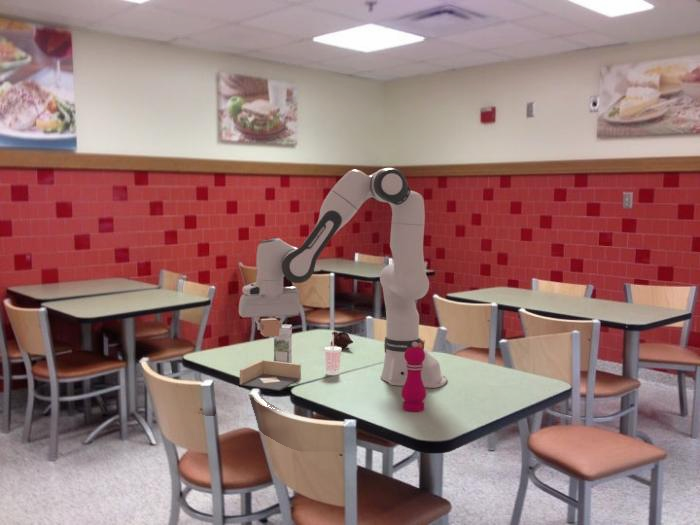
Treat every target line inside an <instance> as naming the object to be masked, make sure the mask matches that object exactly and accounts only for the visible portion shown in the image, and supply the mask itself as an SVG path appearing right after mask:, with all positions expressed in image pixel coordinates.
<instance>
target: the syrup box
mask: <svg viewBox="0 0 700 525" xmlns="http://www.w3.org/2000/svg"><path fill="white" fill-rule="evenodd" d="M292 329H293V326H292V324H283V323H282V329H279V336H273V361H277V362H285V363H293V361H292V360H293V359H292V358H293V357H292V354H293V353H292V346H293V345H292V344H293V342H292V341H293V340H292V336H293V330H292Z"/></svg>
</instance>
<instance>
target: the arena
mask: <svg viewBox="0 0 700 525" xmlns="http://www.w3.org/2000/svg"><path fill="white" fill-rule="evenodd" d="M301 379H302V364H300V363H293V362H291V363H285V362H277V361H274V360H267V359H260V360H259V361H256V362H254V363H252V364H249V365H247V366H245V367H243V368H241V369H239V385H240V386H243V387H250V388H257V389H262V390H264V389H265V390H271V391H277V392H280V391H282V390H284V389H285V388H287V387H289V386H291V385H292V383H293V384H294V383H296V382H297V381H298V382H299V381H300V380H301ZM295 381H296V382H295ZM290 384H291V385H290ZM288 385H289V386H288Z"/></svg>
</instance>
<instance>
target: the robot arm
mask: <svg viewBox="0 0 700 525" xmlns="http://www.w3.org/2000/svg"><path fill="white" fill-rule="evenodd" d="M369 199H372V200H374V201H376V202H381V203H388V204H389V205H390V207H391V213H392V216H391V224H390V225H391V226H390V227H391V228H390V240H389V249H390V250H391V255H392V261H393V263H391V264H389V265H386V266H385V267H384V268H383V269H381V272H380V275H379V281H380V285H381V288H382V292H383V300H384V306H385V312H386V313H385V314H386V322H385V323H386V325H385V326H386V327H385V329H386V333H385V334H386V335H385V337H384V344H383V345H384V346H383V349H384V354H385V355H384V362H383V367H382V371H381V375H380V380H383V381H385V382H387V383H388V384H389V385H391V386H400V387H401V386H402V387H403V386H404V384H405V382H406V379H407V373H408V371H407V368H406V363H407V361H406V360H405V358H404V354H405V351H406V350H407V349H408V348H409V347H413V346H412V343H413V342H417V343H418V346H417V347H419V348H421V349H423V351H424V353H425V359H424V361H423V362H422V363H423V369H422V370H421V379H422V382H423V385H424V387H425V388H429V389H437V388H441V387H443V386H444V385H445V384H447V383H448V377H447V376H446V375H445V374H442V370H441V366H440V363H439V361H438V360H437V359H436V358H435V357H434V356H432V355H431V354H430V353H429V352H428V351H427V350H425V344H426V340H425V339H424V340H422V339H421V338H420V337H419V336H420V334H419V333H420V332H419V330H420V314H419V311H418V309H417V305H416V300H420V299H422V298H424V297H425V296H426V295H427V294H428V292H429V290H430V289H429V288H430V281H429V277H428V276H427V273H426V266H425V264H426V263H425V257H424V235H425V234H424V233H425V224H426V223H425V220H426V213H425V212H426V211H425V200H424V197H423V196H422V194H420V193H419V192H417V191H414V190H411V188H410V185H409V184H408V181H407V178H406V177H405V175H404V173H402V172H401V171H400V170H398V169H397V168H393V167H386V168H381V169H379V170H377V171H376V172H373V173H371V174H369V175H368V174H366V173H365V172H363V171H362V170H359V169H351V170H349V171H348V172H347V173H345V174H344V175H343V176H342V177H341V178H340V179H339V180H338V181H337V182H336V183H335V185H334V186H333V187H332V188H331V189H330V191H329V192H328V194H327V195H326V197H325V198H324V200H323V203H322V204H321V207H320V210H319V215H318V220H317V222H316V224H315V227H313V229H312V230H311V232H310V233H309V235H308V236H307V237H306V239H305V240H304V242H303V243H302V245H301V246H300V247H296V246H292V245H290V244H288V243H287V242H285V241H283V240H282V239H281V238H279V237H278V238H269V239H268V238H267V239H265V240H264V239H263V240H262V241H261V242H259V244H258V246H257V248H256V249H257V250H256V265H255V266H256V269H257V274H256V278H255V280H256V281H255V282H253V283H249V284H246V285H243V286H242V288H241V290H242V293H243V294H241V296H240V298H239V302H238V303H239V304H238V314H239V316H240V317H241V318H253V320H254V321H255V323H256V324H257V330H258V331H260V330H263V324H260V321H261V317H274V316H279V318H280V319H279V329H282V324H283V323H284V322H285V320H286V316H291V315H292V316H295V315H299V313H300V312H301V306H300V304H301V303H300V297H301V292H300V289H299V288H297V287H296V286H284V277H285V279H286V280H288V281H290V282H291V283H294V284H301V283H304V282H307V281H308V280H309V279H311V278H312V276H313V274H314V271H315V268H316V263H317V260H318V259H319V256H320V255H321V253H322V252H323V250H324V249H325V248H326V246H327V245H328V243H329V242H330V241H331V239H332V238H333V237H334V236H335V235H336V234H337V233H338V231H339V230H340V229H341V228H343V227H344V226H345V225H346V224H347V223H348V222H350V220H351V219H352V218H353V217H354V216H355V215H356V213H357V212H358V211H359V210H360V208H361V206H362V205H363V204H364V203H365V202H366V201H367V200H369Z"/></svg>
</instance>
